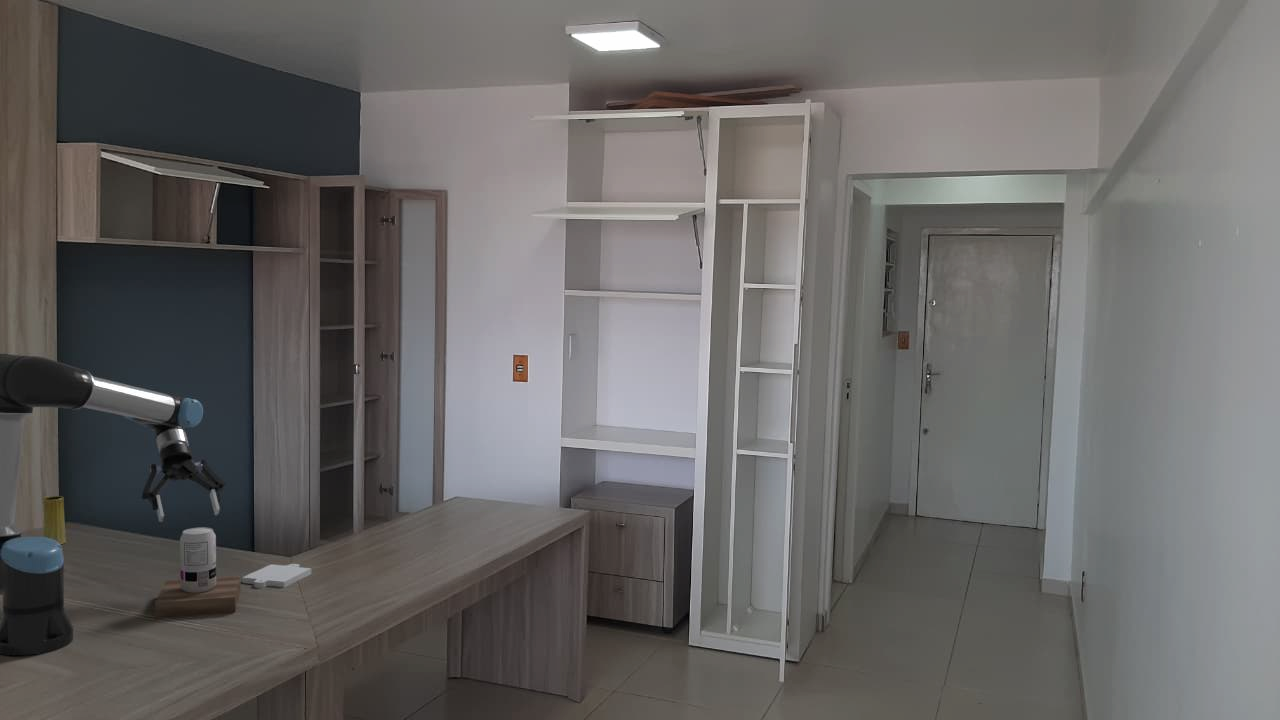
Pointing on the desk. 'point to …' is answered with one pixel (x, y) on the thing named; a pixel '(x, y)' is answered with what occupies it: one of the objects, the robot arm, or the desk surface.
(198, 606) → the walnut riser
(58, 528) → the vase
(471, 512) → the desk surface
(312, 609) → the desk surface
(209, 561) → the supplement can
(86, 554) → the desk surface
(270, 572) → the mounting plate
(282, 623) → the desk surface
